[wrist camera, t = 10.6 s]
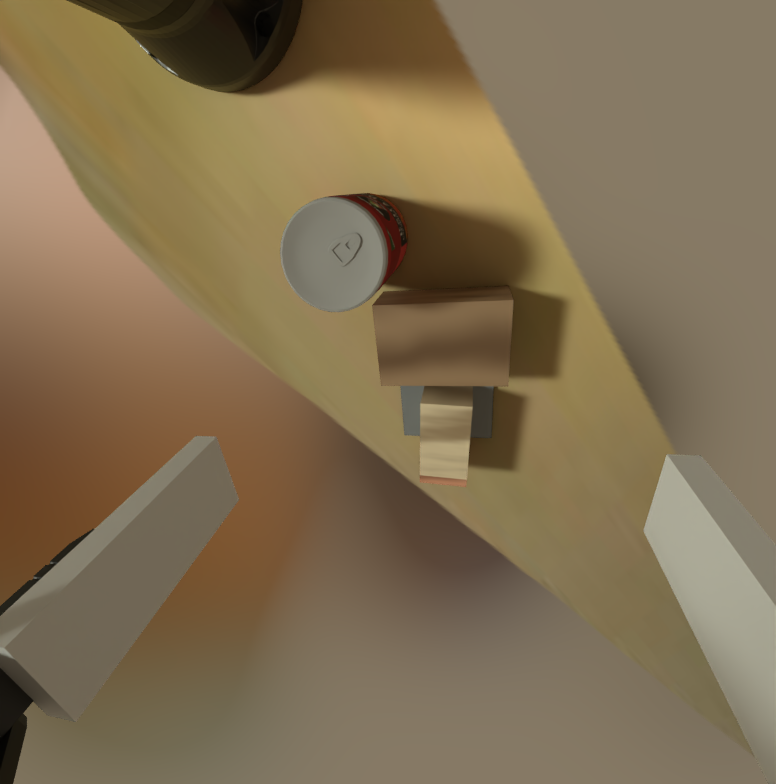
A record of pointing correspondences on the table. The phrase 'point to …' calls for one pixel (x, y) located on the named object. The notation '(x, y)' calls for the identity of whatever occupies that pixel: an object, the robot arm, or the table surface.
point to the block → (445, 434)
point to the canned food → (342, 249)
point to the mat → (480, 411)
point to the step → (444, 336)
